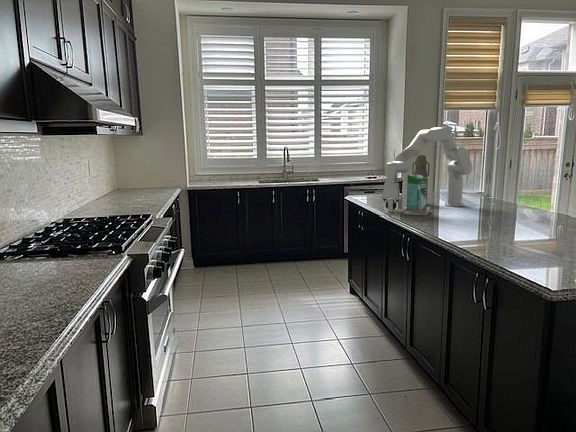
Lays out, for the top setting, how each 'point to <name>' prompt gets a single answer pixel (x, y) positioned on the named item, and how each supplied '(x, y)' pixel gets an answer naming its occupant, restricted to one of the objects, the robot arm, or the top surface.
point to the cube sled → (400, 204)
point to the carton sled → (405, 211)
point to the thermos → (421, 166)
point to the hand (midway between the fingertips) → (391, 208)
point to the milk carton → (417, 192)
